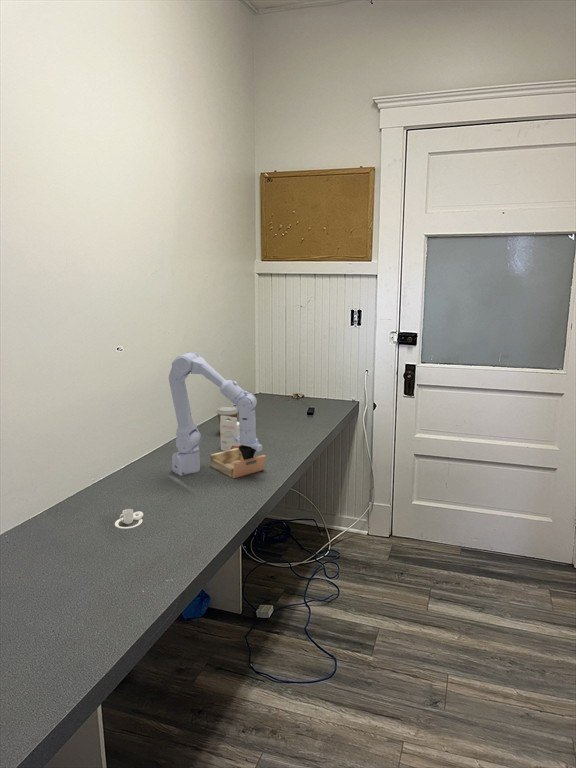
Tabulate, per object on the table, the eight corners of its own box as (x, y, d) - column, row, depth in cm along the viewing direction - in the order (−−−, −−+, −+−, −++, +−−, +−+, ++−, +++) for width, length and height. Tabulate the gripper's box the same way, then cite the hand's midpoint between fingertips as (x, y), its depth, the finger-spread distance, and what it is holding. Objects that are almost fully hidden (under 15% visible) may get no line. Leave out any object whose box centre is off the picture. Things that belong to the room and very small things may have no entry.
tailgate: (234, 479, 195) (237, 464, 192) (232, 476, 196) (234, 462, 193) (264, 470, 202) (266, 456, 200) (261, 468, 204) (264, 454, 201)
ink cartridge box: (244, 449, 229) (243, 414, 226) (238, 453, 225) (237, 418, 222) (227, 446, 233) (226, 412, 230) (220, 450, 229) (219, 415, 226)
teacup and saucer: (141, 514, 172) (140, 502, 171) (148, 525, 165) (147, 512, 164) (112, 521, 168) (111, 508, 167) (117, 532, 161) (116, 519, 160)
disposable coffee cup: (216, 437, 245) (215, 411, 242) (218, 431, 254) (217, 405, 252) (238, 437, 245) (237, 410, 243) (239, 430, 254) (238, 405, 252)
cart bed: (231, 481, 196) (231, 465, 195) (210, 470, 207) (210, 454, 206) (261, 472, 204) (261, 457, 203) (240, 462, 215) (239, 447, 214)
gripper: (269, 431, 192) (269, 468, 195) (245, 422, 204) (246, 457, 206) (252, 435, 188) (253, 473, 191) (228, 425, 199) (230, 461, 202)
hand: (248, 465), depth 198 cm, fingers closed, pressing on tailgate
